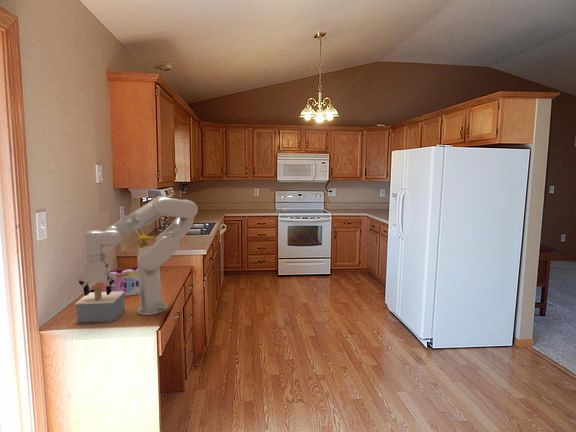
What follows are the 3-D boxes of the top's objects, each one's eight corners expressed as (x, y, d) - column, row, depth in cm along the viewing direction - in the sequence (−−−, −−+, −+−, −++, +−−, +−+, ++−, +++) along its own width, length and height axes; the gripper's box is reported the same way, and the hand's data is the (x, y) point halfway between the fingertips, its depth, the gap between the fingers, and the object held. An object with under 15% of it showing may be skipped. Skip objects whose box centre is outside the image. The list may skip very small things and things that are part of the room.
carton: (90, 311, 180) (89, 293, 179) (125, 310, 182) (123, 292, 181) (77, 323, 166) (76, 304, 165) (114, 321, 168) (113, 302, 167)
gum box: (149, 288, 216) (147, 265, 215) (152, 291, 210) (151, 268, 208) (103, 296, 203) (101, 271, 201) (105, 300, 197) (104, 275, 195)
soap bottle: (151, 284, 223) (149, 236, 219) (134, 284, 223) (131, 236, 220) (159, 278, 236) (157, 233, 232) (143, 278, 236) (141, 233, 232)
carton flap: (88, 293, 179) (88, 282, 178) (124, 292, 181) (123, 281, 180) (75, 304, 165) (74, 292, 164) (113, 302, 167) (113, 290, 166)
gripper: (118, 255, 172) (120, 291, 174) (78, 256, 170) (81, 292, 172) (112, 258, 165) (114, 296, 167) (71, 260, 163) (74, 298, 165)
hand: (97, 294), depth 170 cm, fingers open, 9 cm apart
